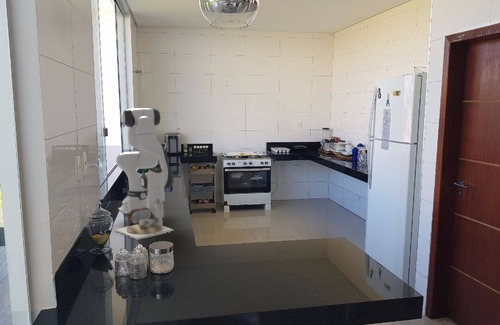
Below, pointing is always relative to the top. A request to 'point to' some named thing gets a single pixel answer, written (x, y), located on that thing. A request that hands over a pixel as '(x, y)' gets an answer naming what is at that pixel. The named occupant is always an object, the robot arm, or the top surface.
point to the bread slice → (139, 215)
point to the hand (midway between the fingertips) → (156, 222)
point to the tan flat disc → (146, 226)
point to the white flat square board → (141, 236)
